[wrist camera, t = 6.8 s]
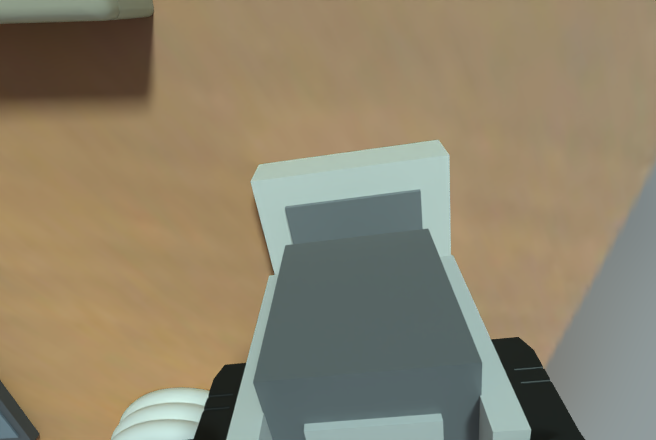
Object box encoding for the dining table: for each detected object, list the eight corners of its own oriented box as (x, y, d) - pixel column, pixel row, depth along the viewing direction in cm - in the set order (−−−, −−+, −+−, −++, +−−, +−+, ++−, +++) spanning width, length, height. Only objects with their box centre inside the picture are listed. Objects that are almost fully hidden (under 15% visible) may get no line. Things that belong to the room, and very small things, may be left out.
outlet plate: (258, 164, 18) (249, 183, 17) (438, 139, 18) (450, 156, 16) (311, 379, 25) (309, 411, 23) (444, 367, 24) (453, 399, 22)
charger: (285, 245, 14) (251, 389, 9) (428, 228, 14) (485, 369, 8) (309, 349, 17) (293, 517, 11) (433, 338, 16) (480, 506, 11)
